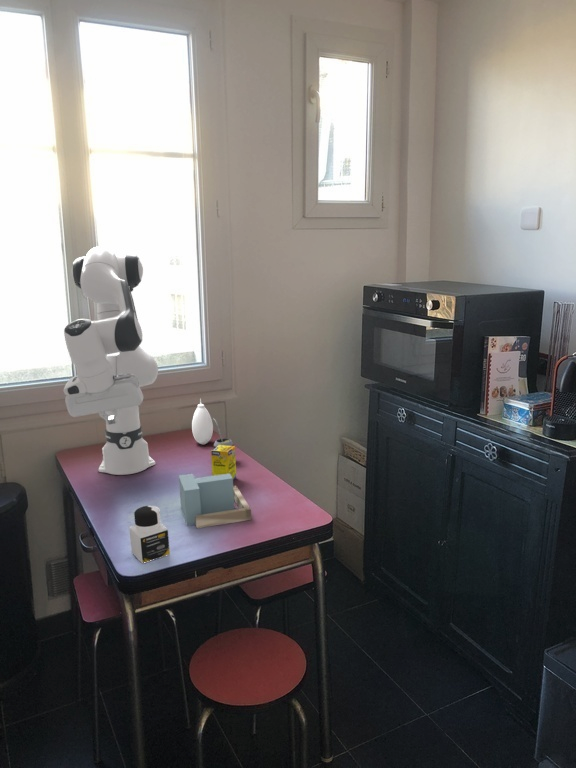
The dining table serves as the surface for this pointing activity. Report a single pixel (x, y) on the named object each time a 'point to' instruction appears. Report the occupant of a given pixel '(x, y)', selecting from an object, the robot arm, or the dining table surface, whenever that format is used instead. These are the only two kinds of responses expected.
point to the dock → (226, 513)
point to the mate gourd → (222, 439)
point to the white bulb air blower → (202, 425)
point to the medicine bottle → (148, 535)
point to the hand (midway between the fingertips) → (113, 422)
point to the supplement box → (223, 460)
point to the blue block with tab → (205, 495)
